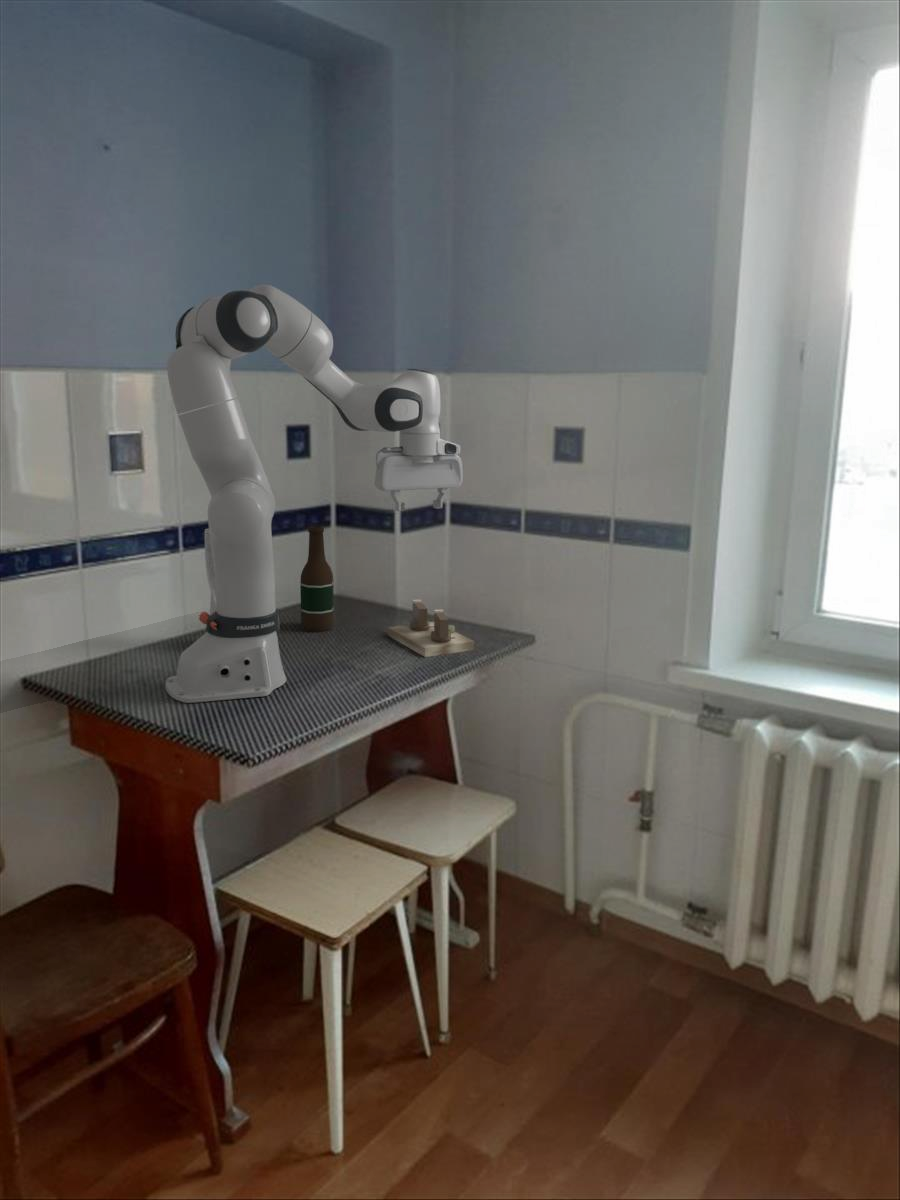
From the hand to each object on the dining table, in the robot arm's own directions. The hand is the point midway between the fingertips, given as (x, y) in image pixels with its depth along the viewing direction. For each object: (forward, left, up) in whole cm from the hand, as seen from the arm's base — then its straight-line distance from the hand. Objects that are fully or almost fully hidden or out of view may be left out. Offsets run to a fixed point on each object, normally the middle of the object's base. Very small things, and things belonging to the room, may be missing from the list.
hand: (419, 509), depth 205 cm
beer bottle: (-18, +16, -29) cm, 38 cm away
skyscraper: (-41, +11, -30) cm, 52 cm away
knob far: (0, -1, -27) cm, 27 cm away
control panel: (0, -6, -29) cm, 30 cm away
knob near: (0, -11, -27) cm, 29 cm away
